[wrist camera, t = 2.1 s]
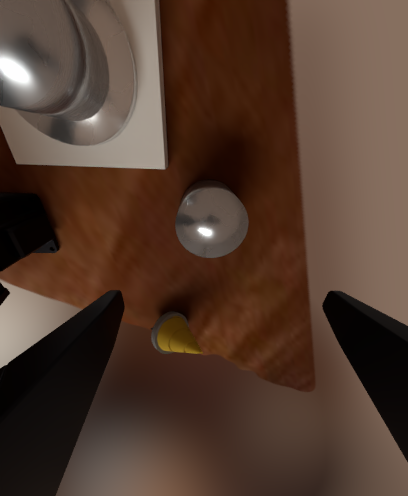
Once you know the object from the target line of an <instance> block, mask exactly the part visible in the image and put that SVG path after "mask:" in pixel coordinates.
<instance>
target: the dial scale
mask: <svg viewBox="0 0 408 496" xmlns="http://www.w3.org/2000/svg"><path fill="white" fill-rule="evenodd" d="M73 1H74V3H75V4H76V5H77V6H78V7H79V9H80V10H81V11H82V12H83V13H84V15H85V16H86V17H87V18H88V20H89V21H90V22H91V24H92V26H93V27H94V29H95V30H96V32H97V34H98V36H99V38H100V40H101V43H102V45H103V48H104V50H105V54H106V57H107V62H108V67H109V90H108V95H107V98H106V101H105V103H104V105H103V106H102V108H101V109H100V110H99V112H98V113H97V114H95V115H94V116H93V117H91V118H89V119H86V120H83V121H68V120H63V119H59V118H54V117H49V116H45V115H40V114H35V113H31V112H26V111H22V110H17V109H12V108H8V107H3V106H0V126H1V128H2V131H3V133H4V136H5V138H6V140H7V143H8V145H9V147H10V150H11V152H12V154H13V157H14V159H15V162H16V164H31V165H60V166H89V167H118V168H148V169H166V168H168V152H167V134H166V115H165V97H164V79H163V60H162V42H161V24H160V5H159V0H73Z"/></svg>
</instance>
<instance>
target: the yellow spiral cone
mask: <svg viewBox="0 0 408 496" xmlns="http://www.w3.org/2000/svg"><path fill="white" fill-rule="evenodd" d="M151 330H152V343H153V345H154V347H155V348H156V349H157V350H158V351H159V352H161V353H163V354H170V353H173V352H186V353H197V354H199V353H201V354H202V353H203V352H202V350H201V349H200V347H199V345H198V343H197V341H196V340H195V338H194V336H193V334H192V333H191V331H190V329H189V327H188V321H187V319H186V318H185V316H183V315H182V314H180V313H178V312H174V311H172V312H168V313H165V314H164V315H162V316H161V317H160V318H159V319H158V320H157V322H156V323H155V325H154V327H153V328H151Z"/></svg>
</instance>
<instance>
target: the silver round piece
mask: <svg viewBox="0 0 408 496" xmlns="http://www.w3.org/2000/svg"><path fill="white" fill-rule="evenodd" d="M108 90H109V67H108V62H107V57H106V54H105V50H104V48H103V45H102V43H101V40H100V38H99V36H98V34H97V32H96V30H95V29H94V27H93V26H92V24H91V22H90V21H89V20H88V18H87V17H86V16H85V15H84V13H83V12H82V11H81V10H80V9H79V7H78V6H77V5H76V4H75V3H74V1H73V0H0V106H3V107H8V108H12V109H17V110H22V111H26V112H31V113H35V114H40V115H45V116H49V117H54V118H59V119H63V120H68V121H83V120H86V119H89V118H91V117H93V116H94V115H95V114H97V113H98V112H99V110H100V109H101V108H102V106H103V105H104V103H105V101H106V98H107V95H108Z"/></svg>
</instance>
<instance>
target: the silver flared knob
mask: <svg viewBox="0 0 408 496" xmlns="http://www.w3.org/2000/svg"><path fill="white" fill-rule="evenodd" d="M247 229H248V215H247V212H246V209H245V207H244V206H243V204H242V203H241V201H240V200H239V199H238V198H237V197H236V195H235V194H234V193H233V192H232V191H231V189H230V188H229V187H228V186H226V185H225V184H224V183H222V182H219V181H217V180H211V179H208V180H201V181H198V182H196V183H194V184H193V185H191V186H190V187H189V188H188V189H187V190H186V192H185V193H184V195H183V197H182V200H181V203H180V206H179V210H178V213H177V217H176V233H177V236H178V238H179V240H180V242H181V243H182V245H183V246H184V247H185V248H186V249H187V250H188V251H190V252H191V253H193V254H195V255H198V256H201V257H206V258H215V257H220V256H224V255H226V254H228V253H230V252H232V251H233V250H235V249H236V248H237V247H238V246H239V245H240V244H241V242H242V241H243V240H244V238H245V236H246V233H247Z"/></svg>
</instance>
